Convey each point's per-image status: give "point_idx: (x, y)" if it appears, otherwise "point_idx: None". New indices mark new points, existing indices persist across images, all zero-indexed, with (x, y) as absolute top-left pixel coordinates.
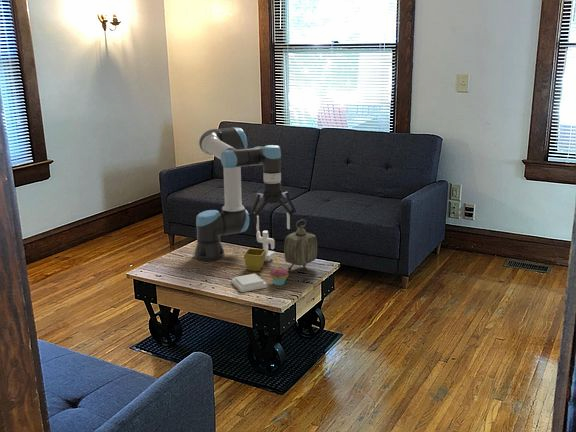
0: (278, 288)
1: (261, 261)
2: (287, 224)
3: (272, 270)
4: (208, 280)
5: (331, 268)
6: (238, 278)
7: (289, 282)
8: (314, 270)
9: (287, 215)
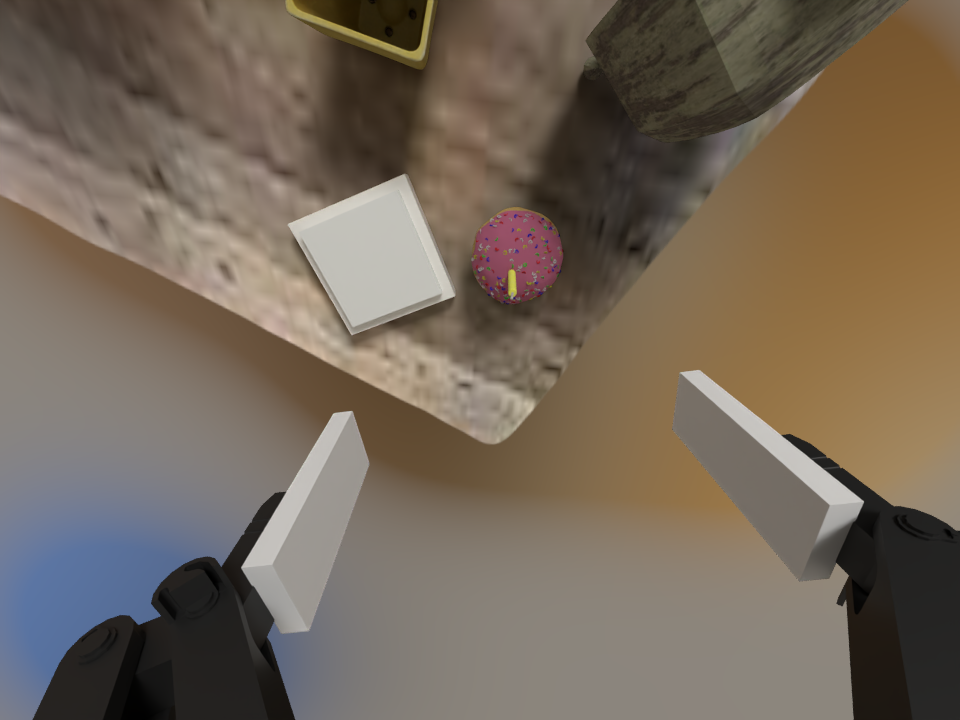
0: None
1: (427, 58)
2: (700, 430)
3: (485, 260)
4: (170, 177)
5: None
6: (321, 253)
7: None
8: None
9: (791, 534)
